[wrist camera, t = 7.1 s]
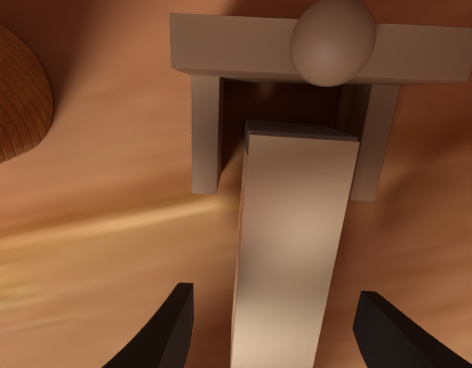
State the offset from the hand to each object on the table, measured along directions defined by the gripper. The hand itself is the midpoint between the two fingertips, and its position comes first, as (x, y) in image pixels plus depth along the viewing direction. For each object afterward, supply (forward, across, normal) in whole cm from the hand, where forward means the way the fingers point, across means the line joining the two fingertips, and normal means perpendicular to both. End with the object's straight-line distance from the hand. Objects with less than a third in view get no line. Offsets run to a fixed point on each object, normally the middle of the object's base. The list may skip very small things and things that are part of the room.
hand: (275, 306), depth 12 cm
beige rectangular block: (+4, 0, -1) cm, 4 cm away
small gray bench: (+4, 0, -7) cm, 8 cm away
